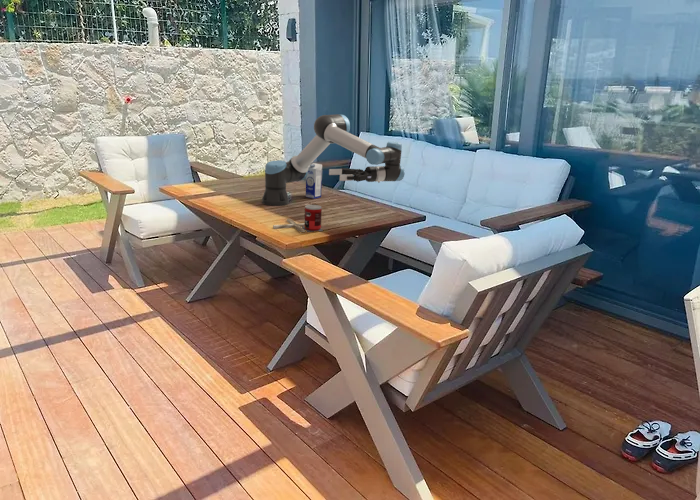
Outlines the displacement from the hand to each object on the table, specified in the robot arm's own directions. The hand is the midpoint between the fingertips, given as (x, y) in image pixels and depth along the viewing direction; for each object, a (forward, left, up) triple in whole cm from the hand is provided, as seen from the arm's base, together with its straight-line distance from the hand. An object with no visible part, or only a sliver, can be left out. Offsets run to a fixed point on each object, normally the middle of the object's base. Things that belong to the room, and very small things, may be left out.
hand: (334, 174), depth 259 cm
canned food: (-9, -7, -26) cm, 28 cm away
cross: (-18, -5, -26) cm, 32 cm away
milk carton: (-21, +62, -26) cm, 71 cm away
